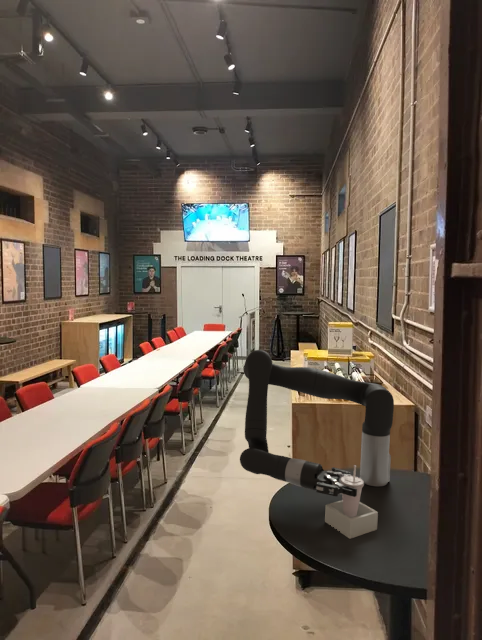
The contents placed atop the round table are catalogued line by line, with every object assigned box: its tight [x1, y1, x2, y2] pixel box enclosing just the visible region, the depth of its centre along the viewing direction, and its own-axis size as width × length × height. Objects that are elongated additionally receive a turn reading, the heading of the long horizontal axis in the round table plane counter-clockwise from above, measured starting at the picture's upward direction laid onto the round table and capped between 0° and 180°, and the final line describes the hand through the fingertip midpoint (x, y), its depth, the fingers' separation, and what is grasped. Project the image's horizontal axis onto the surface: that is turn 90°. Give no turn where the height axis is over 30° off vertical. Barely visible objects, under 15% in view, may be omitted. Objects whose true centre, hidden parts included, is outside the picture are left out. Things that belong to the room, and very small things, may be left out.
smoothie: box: [339, 464, 365, 517], centre depth 132 cm, size 6×6×14 cm
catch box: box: [324, 499, 379, 539], centre depth 132 cm, size 10×10×5 cm
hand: (360, 488), depth 130 cm, fingers closed on smoothie, 6 cm apart
